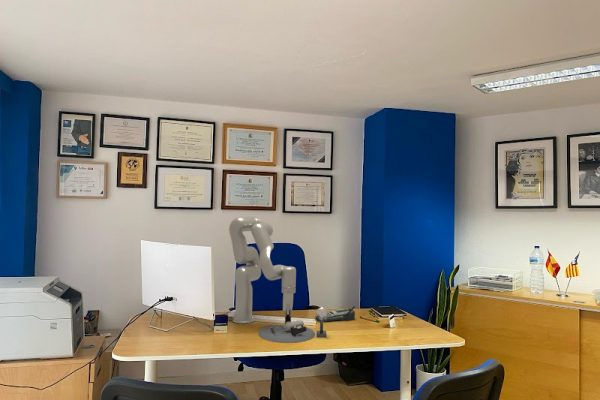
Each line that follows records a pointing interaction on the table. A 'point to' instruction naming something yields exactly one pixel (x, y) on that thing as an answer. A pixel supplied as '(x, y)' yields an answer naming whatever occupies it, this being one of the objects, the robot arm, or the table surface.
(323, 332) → the square-base wall hook
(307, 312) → the table surface
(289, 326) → the clip-on lamp
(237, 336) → the table surface
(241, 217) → the robot arm
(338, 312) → the communication device
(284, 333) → the mat
